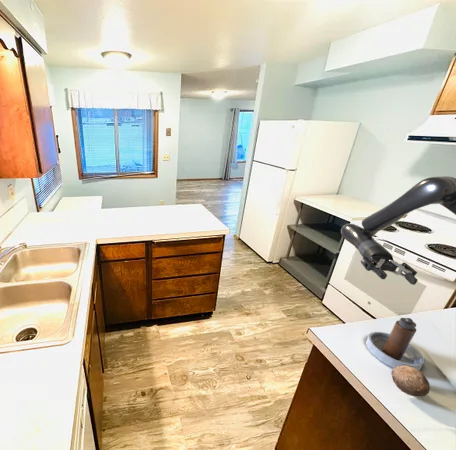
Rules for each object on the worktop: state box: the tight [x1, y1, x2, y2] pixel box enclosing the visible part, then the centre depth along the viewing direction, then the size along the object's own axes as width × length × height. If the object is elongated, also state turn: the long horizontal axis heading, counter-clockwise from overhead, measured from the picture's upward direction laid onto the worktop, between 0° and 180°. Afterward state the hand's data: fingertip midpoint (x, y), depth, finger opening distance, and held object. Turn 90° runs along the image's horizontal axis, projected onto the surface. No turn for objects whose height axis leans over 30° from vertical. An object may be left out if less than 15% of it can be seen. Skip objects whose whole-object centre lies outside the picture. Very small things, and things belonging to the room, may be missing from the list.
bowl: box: [365, 331, 425, 371], centre depth 79 cm, size 13×13×4 cm
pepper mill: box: [382, 317, 417, 360], centre depth 76 cm, size 5×5×15 cm
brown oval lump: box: [391, 365, 431, 398], centre depth 68 cm, size 8×8×6 cm
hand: (399, 280), depth 80 cm, fingers open, 8 cm apart
